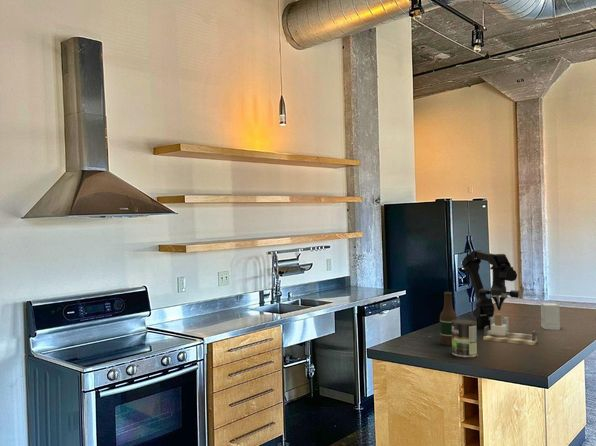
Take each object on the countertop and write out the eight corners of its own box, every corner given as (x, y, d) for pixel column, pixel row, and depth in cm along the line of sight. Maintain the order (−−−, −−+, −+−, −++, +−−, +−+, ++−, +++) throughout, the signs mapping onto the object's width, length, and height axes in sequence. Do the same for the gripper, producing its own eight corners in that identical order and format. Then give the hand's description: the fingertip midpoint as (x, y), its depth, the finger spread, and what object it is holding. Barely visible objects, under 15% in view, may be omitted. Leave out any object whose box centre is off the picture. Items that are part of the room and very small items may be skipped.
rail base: (483, 340, 241) (483, 328, 241) (488, 335, 249) (487, 324, 249) (533, 345, 229) (533, 333, 229) (537, 340, 237) (536, 329, 237)
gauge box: (490, 334, 252) (490, 318, 252) (493, 331, 258) (493, 316, 258) (505, 335, 249) (505, 319, 249) (508, 333, 254) (508, 317, 254)
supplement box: (560, 330, 260) (559, 305, 260) (544, 329, 261) (544, 305, 261) (556, 327, 267) (555, 303, 267) (540, 326, 268) (540, 302, 268)
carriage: (490, 334, 241) (490, 315, 241) (493, 332, 246) (493, 313, 246) (504, 335, 238) (503, 316, 238) (506, 333, 243) (506, 314, 243)
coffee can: (457, 357, 211) (456, 324, 211) (448, 351, 221) (447, 319, 221) (481, 356, 211) (480, 323, 211) (471, 350, 222) (470, 318, 222)
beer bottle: (457, 342, 237) (456, 291, 237) (457, 346, 230) (456, 293, 230) (440, 341, 240) (439, 290, 240) (439, 345, 232) (438, 292, 232)
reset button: (495, 320, 253) (495, 314, 253) (497, 319, 255) (496, 313, 255) (502, 320, 251) (502, 314, 251) (503, 319, 254) (503, 313, 254)
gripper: (475, 279, 252) (476, 311, 252) (516, 281, 242) (516, 314, 242) (480, 277, 261) (481, 307, 261) (520, 279, 251) (520, 310, 251)
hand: (499, 310), depth 253 cm, fingers closed
